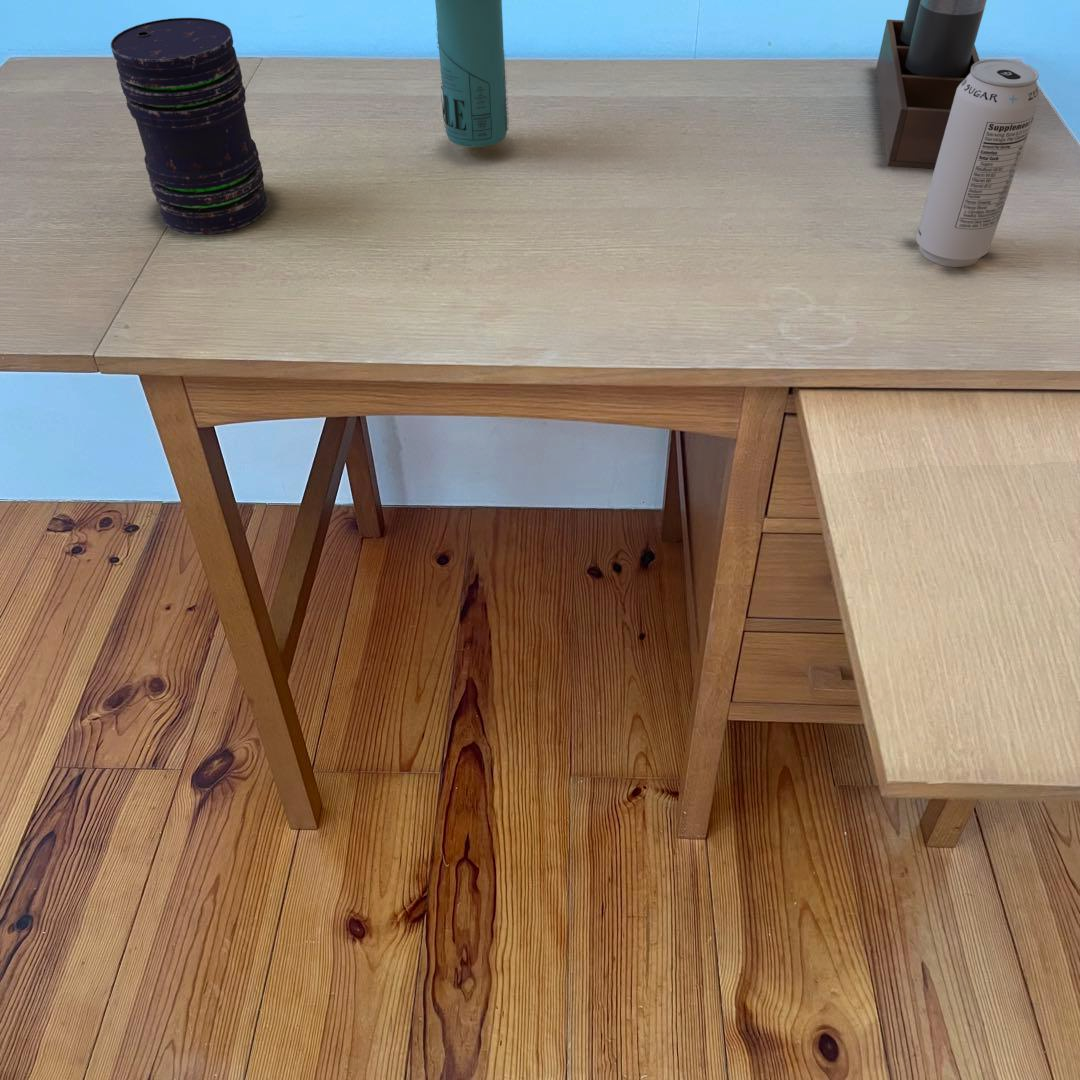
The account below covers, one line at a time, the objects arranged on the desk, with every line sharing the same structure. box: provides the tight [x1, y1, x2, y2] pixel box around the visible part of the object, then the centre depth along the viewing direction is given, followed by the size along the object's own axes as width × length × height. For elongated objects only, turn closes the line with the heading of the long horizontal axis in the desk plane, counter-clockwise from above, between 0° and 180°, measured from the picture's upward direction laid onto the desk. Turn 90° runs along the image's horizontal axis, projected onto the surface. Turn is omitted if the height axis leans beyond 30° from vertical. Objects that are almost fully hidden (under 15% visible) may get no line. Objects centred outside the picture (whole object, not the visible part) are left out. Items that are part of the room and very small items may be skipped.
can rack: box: [875, 19, 981, 170], centre depth 104 cm, size 9×25×6 cm, turn 169°
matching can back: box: [899, 0, 921, 46], centre depth 106 cm, size 6×6×15 cm
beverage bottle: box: [434, 0, 510, 148], centre depth 94 cm, size 6×7×20 cm
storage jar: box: [110, 17, 269, 235], centre depth 88 cm, size 10×10×15 cm
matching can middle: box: [903, 0, 988, 78], centre depth 100 cm, size 6×6×15 cm
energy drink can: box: [915, 58, 1040, 268], centre depth 81 cm, size 6×6×15 cm
